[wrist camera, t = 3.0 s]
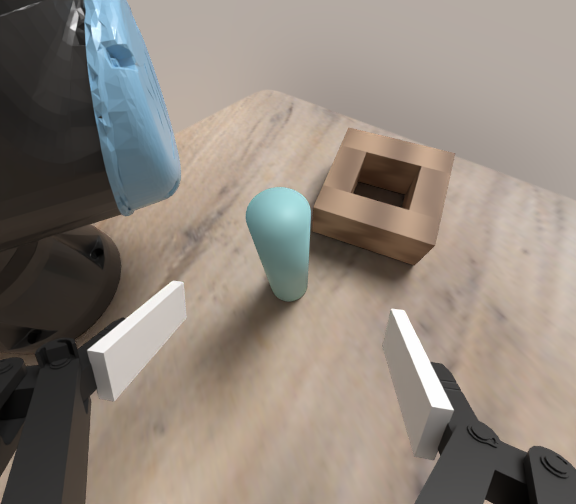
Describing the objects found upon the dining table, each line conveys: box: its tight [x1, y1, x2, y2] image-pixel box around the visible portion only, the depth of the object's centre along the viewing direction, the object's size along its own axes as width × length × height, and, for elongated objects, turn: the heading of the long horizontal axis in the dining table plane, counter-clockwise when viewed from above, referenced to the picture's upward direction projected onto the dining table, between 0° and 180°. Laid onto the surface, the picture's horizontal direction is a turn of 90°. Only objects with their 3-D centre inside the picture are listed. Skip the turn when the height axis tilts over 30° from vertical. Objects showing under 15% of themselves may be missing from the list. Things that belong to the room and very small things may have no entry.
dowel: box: [246, 187, 311, 301], centre depth 23 cm, size 4×4×14 cm
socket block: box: [312, 128, 455, 265], centre depth 30 cm, size 12×12×5 cm
